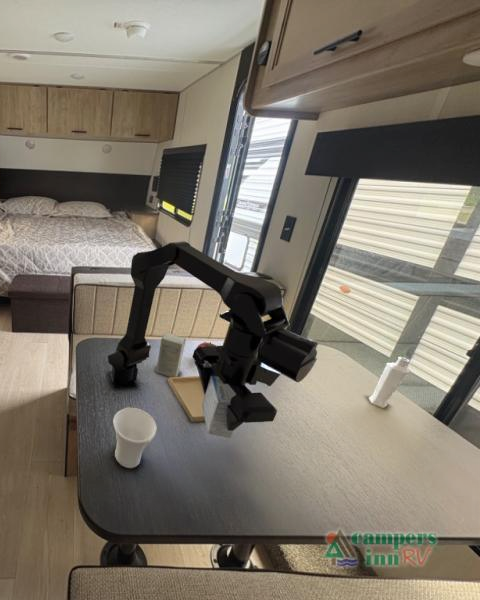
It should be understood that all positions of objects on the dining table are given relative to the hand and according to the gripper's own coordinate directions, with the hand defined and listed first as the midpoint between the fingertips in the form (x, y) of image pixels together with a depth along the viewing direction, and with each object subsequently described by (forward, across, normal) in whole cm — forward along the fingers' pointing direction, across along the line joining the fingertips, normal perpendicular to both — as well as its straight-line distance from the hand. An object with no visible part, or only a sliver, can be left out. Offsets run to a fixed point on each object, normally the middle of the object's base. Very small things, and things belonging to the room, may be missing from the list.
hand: (218, 412), depth 61 cm
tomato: (+13, +33, -18) cm, 40 cm away
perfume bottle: (+13, +12, -59) cm, 62 cm away
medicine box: (+3, 0, 0) cm, 3 cm away
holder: (+13, +17, -7) cm, 22 cm away
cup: (+13, +1, +17) cm, 21 cm away
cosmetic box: (+13, +29, -3) cm, 32 cm away
